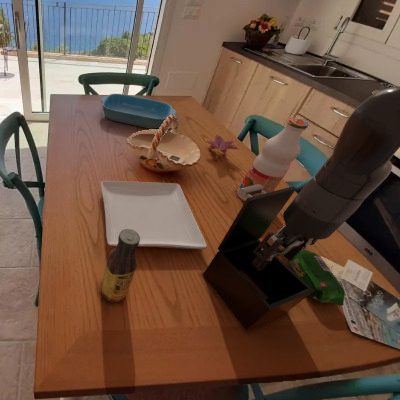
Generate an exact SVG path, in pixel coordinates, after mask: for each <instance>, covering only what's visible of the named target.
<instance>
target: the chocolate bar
mask: <svg viewBox="0 0 400 400" xmlns="http://www.w3.org/2000/svg"><path fill="white" fill-rule="evenodd" d="M239 272H240V273H241V274H242V275H243V276H244V277H245V278H246V279H247V281H248V282H249V283H250V284H251V285H252V286H253V287H254V288H255V289H256V290H257V292H258V293H259V294H260V295H261V296H262V297H263V298H264V299H265V300H267V299H268V297H267V296H266V295H265V293H264V292H263V291H262V290H261V289H260V288H259V287H258V286H257V285H256V284H255V283H254V282H253V281H252V280H251V279H250V278H249V276H248V275H247V274H246V273H245V272H244V271H243V270H240V271H239Z"/></svg>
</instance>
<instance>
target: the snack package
mask: <svg viewBox="0 0 400 400" xmlns="http://www.w3.org/2000/svg"><path fill="white" fill-rule="evenodd" d="M287 261H288V264H289V267H290V269H291V270H292V271H293V272H295V273H296V274H297V275H298V276H299V277H300V278H301V279H302V280H303V281H304V282H305V283H306V284H307V285H309V286H310V287H311V288H312V289H313V290H314V291H313V292H312V293H311V294H309V295H308V297H310V298H311V299H312V300H315V301H318V302H320V303H322V304H323V303H328V304H331V303H332V304H336V305H337V306H344V301H345V295H346V294H345V289H344V288H343V286H342V285H341V283H340V281H339V280H338V279H337V277H336V276H335V275H334V273H333V272H332V270H331V268H330V267H329V266H328V265H327V263H326V262H325V261H324V259H323V258H322V257H321V256H320V254H318V253H316V252H313V251H310V250H307V249H302V250H301V251H300V252H299V253H298V254H297V255H296V256H295V257H294V258H293V259H291V260H288V259H287Z"/></svg>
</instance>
